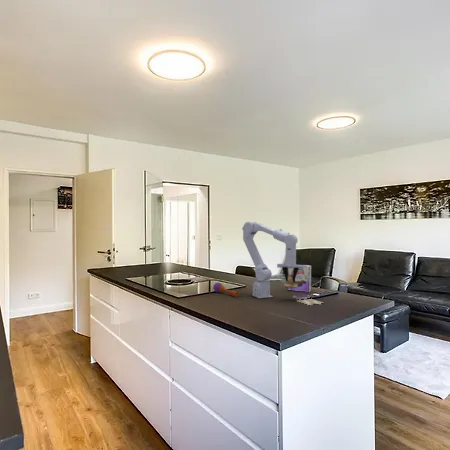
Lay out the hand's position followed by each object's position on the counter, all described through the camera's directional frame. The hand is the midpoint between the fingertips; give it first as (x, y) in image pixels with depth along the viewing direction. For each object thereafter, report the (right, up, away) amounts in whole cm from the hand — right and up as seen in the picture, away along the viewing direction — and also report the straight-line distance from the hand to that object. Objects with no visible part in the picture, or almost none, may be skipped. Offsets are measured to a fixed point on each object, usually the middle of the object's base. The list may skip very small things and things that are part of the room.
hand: (290, 281), depth 177 cm
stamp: (0, -3, 0) cm, 3 cm away
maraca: (-36, -10, +13) cm, 39 cm away
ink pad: (+7, -10, +5) cm, 14 cm away
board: (+9, -10, -6) cm, 15 cm away
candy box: (+11, -11, +26) cm, 30 cm away
